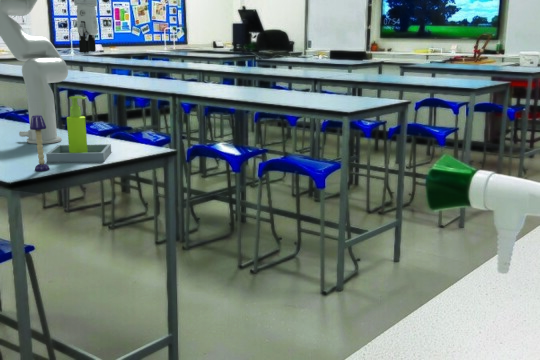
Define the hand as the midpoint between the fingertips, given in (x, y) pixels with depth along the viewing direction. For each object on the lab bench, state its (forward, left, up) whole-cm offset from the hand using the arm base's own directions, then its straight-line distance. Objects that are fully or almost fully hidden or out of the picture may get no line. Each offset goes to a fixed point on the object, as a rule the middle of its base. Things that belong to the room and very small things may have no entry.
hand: (87, 51), depth 213 cm
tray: (-1, -19, -34) cm, 39 cm away
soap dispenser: (-1, -19, -34) cm, 39 cm away
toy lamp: (-9, -37, -35) cm, 51 cm away
